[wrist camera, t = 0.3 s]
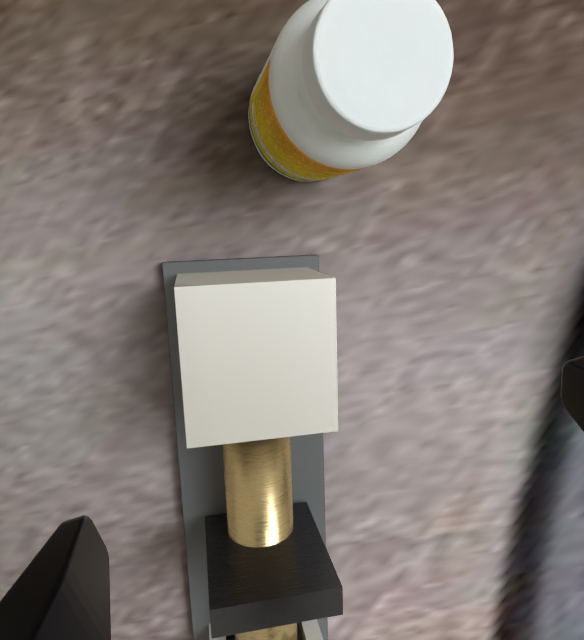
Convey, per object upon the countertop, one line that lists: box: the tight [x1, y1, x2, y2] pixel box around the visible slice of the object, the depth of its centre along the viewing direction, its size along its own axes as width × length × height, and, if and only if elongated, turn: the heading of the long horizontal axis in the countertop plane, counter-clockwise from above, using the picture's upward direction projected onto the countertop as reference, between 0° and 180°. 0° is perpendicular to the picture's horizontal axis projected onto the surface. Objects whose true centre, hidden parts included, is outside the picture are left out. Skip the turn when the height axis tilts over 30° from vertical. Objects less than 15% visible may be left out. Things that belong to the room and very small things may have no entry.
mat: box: [162, 255, 328, 640], centre depth 25 cm, size 26×7×1 cm, turn 2°
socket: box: [174, 267, 338, 448], centre depth 21 cm, size 6×6×5 cm
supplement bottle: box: [248, 0, 453, 182], centre depth 18 cm, size 5×5×10 cm
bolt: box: [205, 437, 343, 640], centre depth 22 cm, size 17×5×6 cm, turn 2°
